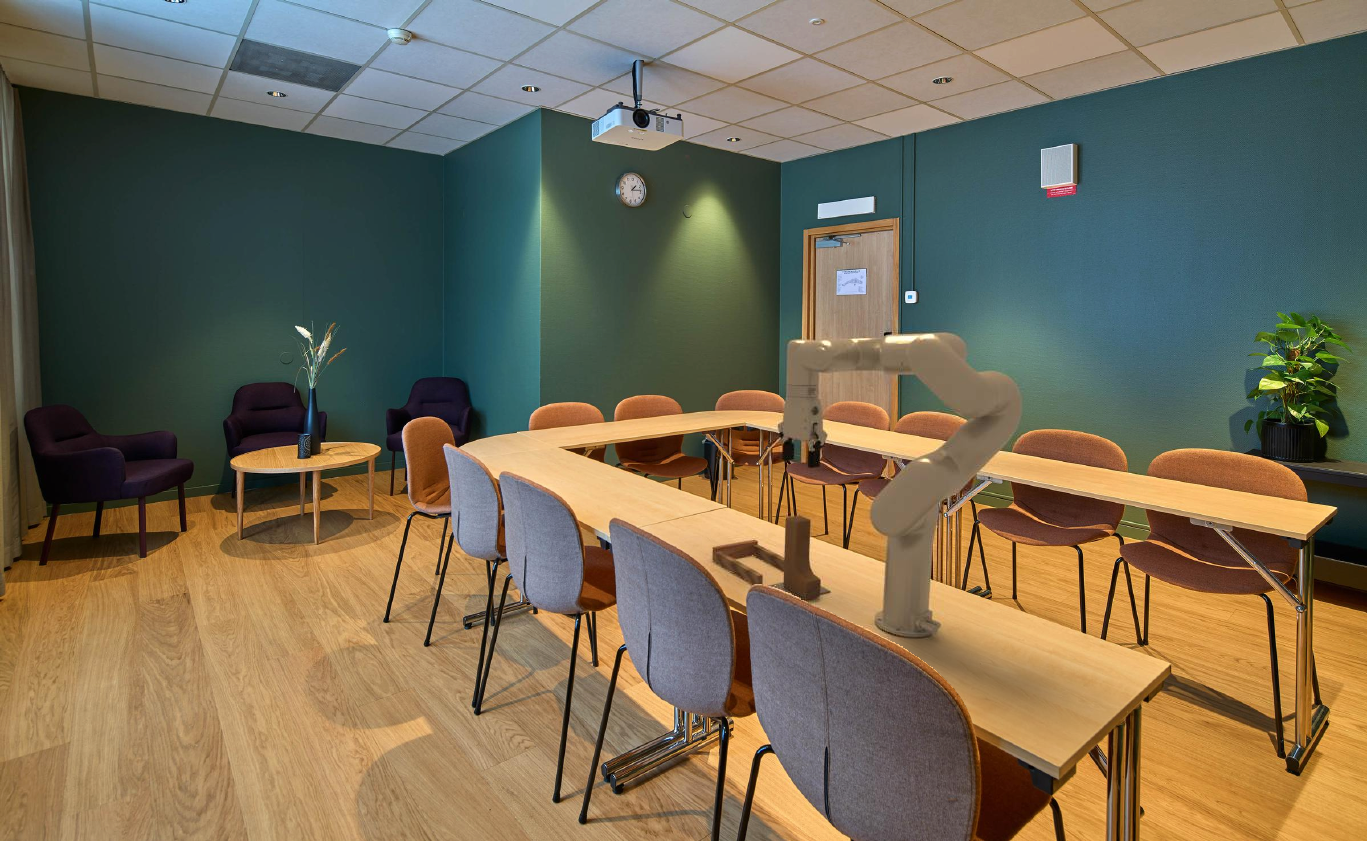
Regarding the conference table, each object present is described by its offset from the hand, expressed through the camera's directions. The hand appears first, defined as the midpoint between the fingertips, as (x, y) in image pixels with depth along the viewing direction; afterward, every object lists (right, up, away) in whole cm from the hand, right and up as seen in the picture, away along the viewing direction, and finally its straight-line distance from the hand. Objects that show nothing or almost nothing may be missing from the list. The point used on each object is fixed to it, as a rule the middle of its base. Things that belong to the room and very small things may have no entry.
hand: (800, 463), depth 169 cm
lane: (-8, -29, +19) cm, 36 cm away
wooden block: (+1, -32, +3) cm, 32 cm away
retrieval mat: (-1, -32, +5) cm, 32 cm away
